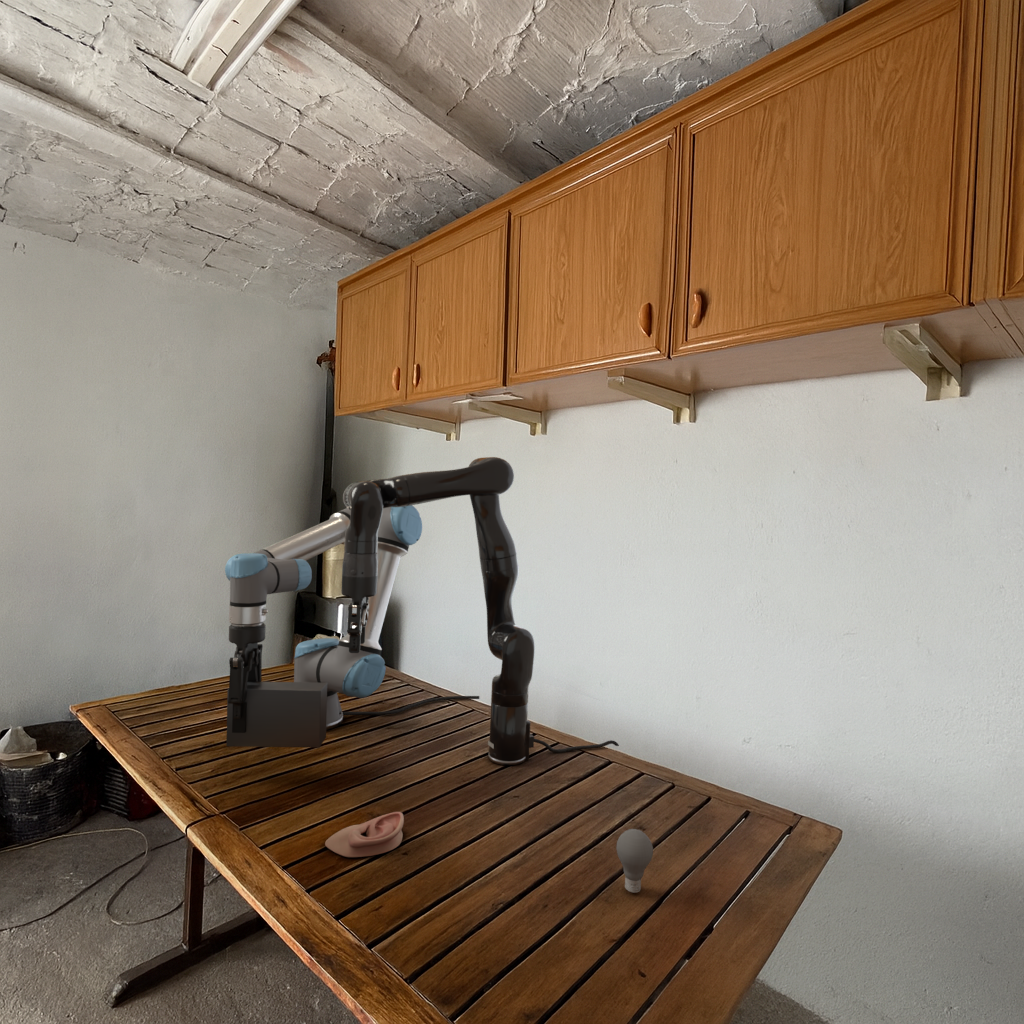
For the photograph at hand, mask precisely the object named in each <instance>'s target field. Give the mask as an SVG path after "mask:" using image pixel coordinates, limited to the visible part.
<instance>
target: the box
mask: <svg viewBox="0 0 1024 1024" xmlns="http://www.w3.org/2000/svg"><path fill="white" fill-rule="evenodd" d="M226 693H227V696H226V698H227V699H226V700H227V701H226V745H225V746H226V747H237V748H238V747H240V748H241V747H243V748H244V747H245V748H247V747H248V748H249V747H250V748H318V749H319V748H320V747H321V746H322V745H323V743H324V741H325V740H326V738H327V730H326V720H327V683H314V682H294V681H261V682H256V681H247V689H246V697H245V702H247V711H246V732H245V733H232V716H233V704H229V703H228V699H229V687H228V688H227V691H226Z"/></svg>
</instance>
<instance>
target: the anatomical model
mask: <svg viewBox="0 0 1024 1024" xmlns="http://www.w3.org/2000/svg"><path fill="white" fill-rule="evenodd" d="M404 823H405V818H404V814H403V812H401V811H393V812H390V813H386V814H383V815H380V816H377V817H375V818H372V819H370V820H368V821H365V822H362V823H360V824H353V825H350V826H349V825H348V826H347V827H344V828H342V829H340V830H339V831H337V832H335V833H334V834H332V835H331V836H329V837H328V839H326V841H325V843H324V845H325V847H326V848H327V849H328V850H330V851H332V852H334V853H335V854H337V855H340V856H342V857H345V858H362V857H363V858H364V857H371V856H376V855H381V854H385V853H387V852H390V851H393V850H394V849H396V848H397V847H399V846H400V845H401V843H402V840H403V835H404V834H403V831H402V829H403V828H404Z"/></svg>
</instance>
